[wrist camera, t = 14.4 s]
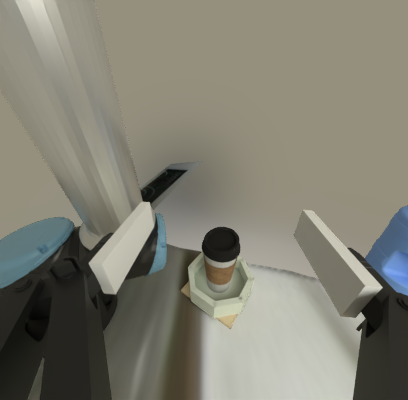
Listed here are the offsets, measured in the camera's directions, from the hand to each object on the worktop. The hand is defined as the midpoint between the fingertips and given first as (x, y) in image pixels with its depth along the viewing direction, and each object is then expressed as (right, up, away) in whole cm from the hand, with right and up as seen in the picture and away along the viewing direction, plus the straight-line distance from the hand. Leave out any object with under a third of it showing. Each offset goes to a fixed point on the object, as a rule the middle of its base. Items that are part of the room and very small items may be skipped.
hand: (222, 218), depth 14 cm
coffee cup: (+2, -20, +27) cm, 34 cm away
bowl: (+2, -21, +28) cm, 35 cm away
